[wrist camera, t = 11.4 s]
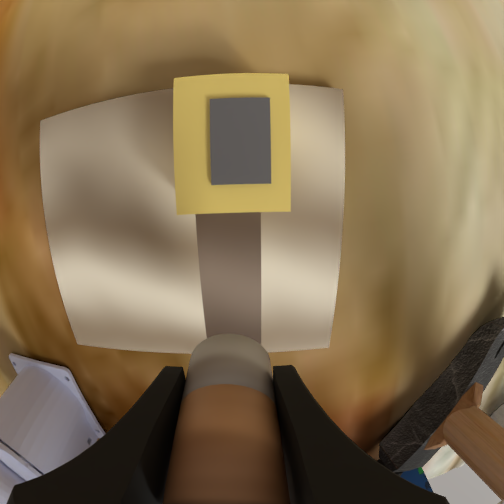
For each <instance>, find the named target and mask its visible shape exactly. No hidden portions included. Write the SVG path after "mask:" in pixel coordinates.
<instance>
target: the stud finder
mask: <svg viewBox="0 0 504 504" xmlns="http://www.w3.org/2000/svg"><path fill="white" fill-rule="evenodd" d="M173 148H174V177H175V196H176V211H177V215H187V214H210V213H241V212H291V135H290V95H289V74H275V73H231V74H212V75H199V76H189V77H180V78H174V87H173Z"/></svg>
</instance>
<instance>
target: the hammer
mask: <svg viewBox="0 0 504 504" xmlns="http://www.w3.org/2000/svg"><path fill="white" fill-rule="evenodd" d="M503 357H504V317H502V318H498V319H495V320H493V321H490V322H488V323H486V324H485V325H483V326H482V327H480V328H479V329H478V330H477V331H476V332H475V333H474V334H473V335H472V336H471V337H470V339H469V340H468V342H467V343H466V344H465V346H464V347H463V348H462V350H461V351H460V352H459V354H458V355H457V356H456V358H455V359H454V360H453V361H452V363H451V364H450V365H449V366H448V367H447V369H446V370H445V371H444V372H443V373H442V374H441V376H440V377H439V378H438V379H437V380H436V381H435V382H434V383H433V385H432V386H431V387H430V388H429V389H428V390H427V391H426V392H425V393H424V394H423V395H422V396H421V397H420V398H419V399H418V400H417V401H416V402H415V404H414V405H413V406H412V407H411V409H410V410H409V411H408V412H407V413H406V415H405V416H404V417H403V418H402V419H401V420H400V421H399V423H398V424H397V425H396V426H395V427H394V428H393V429H392V430H391V431H390V433H389V434H388V435H387V436H386V437H385V438H384V439H383V440H382V441H381V442H380V443H379V446H380V448H379V458H380V459H379V460H378V461H377V462H379V463H380V464H382V465H383V466H385V467H386V468H388V469H389V470H391V471H392V472H394V473H395V474H397V475H398V476H401V475H402V473H403V472H405V471H409V470H413V469H416V468H419V467H423V466H424V465H425V464H426V463H427V462H428V461H429V460H430V459H431V457H432V456H433V455H434V454H435V453H436V452H437V451H438V450H439V449H440V448H441V447H442V446H445V445H447V444H448V445H449V446H450V447H451V448H452V449H453V450H454V451H455V452H456V453H457V454H458V455H459V456H460V457H461V458H462V460H463V461H464V462H465V463H466V464H467V465H468V466H469V467H470V468H471V469H472V470H473V471H474V472H475V473H476V474H477V475H478V476H479V477H480V478H481V479H482V480H483V481H484V482H485V483H486V484H487V485H488V486H489V487H490V489H492V490H493V492H494V493H495V494H496V495H497V496H498V497H499V498H500V499H501V500H503V499H504V428H503V427H501V426H500V425H499V424H498V423H497V422H495V421H494V420H493V419H492V418H490V417H489V416H488V415H487V414H485V413H484V412H483V411H482V410H480V409H479V406H480V405H481V399H482V393H483V391H484V390H485V388H486V387H487V385H488V383H489V382H490V380H491V378H492V377H493V375H494V373H495V372H496V370H497V368H498V366H499V365H500V363H501V361H502V359H503Z"/></svg>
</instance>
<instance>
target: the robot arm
mask: <svg viewBox="0 0 504 504" xmlns="http://www.w3.org/2000/svg"><path fill="white" fill-rule="evenodd" d="M9 359H10V361H11V363H12V365H13V367H14V368H15V370H16V372H17V374H18V375H17V376H16V378H15V379H14V380H13V381H12V383H11V384H10V385H9V387H8V388H7V389H6V391H5V392H4V393H3V395H2V396H1V397H0V504H163V497H164V491H165V485H166V479H167V473H168V468H169V462H170V457H171V451H172V446H173V440H174V435H175V430H176V425H177V420H178V415H179V410H180V405H181V400H182V396H183V391H184V386H185V382H186V380H185V375H184V371H183V367H170V366H165V367H164V368H163V369H162V371H161V372H160V373H159V375H158V376H157V377H156V379H155V380H154V381H153V382H152V384H151V385H150V386H149V387H148V389H147V390H146V391H145V392H144V394H143V395H142V396H141V397H140V398H139V400H138V401H137V402H136V403H135V404H134V405H133V407H132V408H131V409H130V410H129V411H128V412H127V413H126V414H125V415H124V416H123V417H122V418H121V419H120V420H119V421H118V422H117V423H116V424H115V426H113V427H112V428H111V429H110V430H109V431H108V432H107V433H105V432H104V430H103V429H102V427H101V426H100V424H99V423H98V421H97V419H96V418H95V416H94V414H93V413H92V411H91V409H90V407H89V406H88V404H87V402H86V400H85V399H84V397H83V395H82V393H81V391H80V389H79V387H78V385H77V383H76V381H75V379H74V377H73V375H72V373H71V371H70V370H69V369H68V368H66V367H63V366H58V365H54V364H50V363H46V362H42V361H38V360H34V359H30V358H27V357H23V356H20V355H16V354H13V353H10V355H9ZM273 385H274V392H275V399H276V405H277V412H278V419H279V426H280V433H281V440H282V447H283V455H284V462H285V469H286V476H287V483H288V490H289V497H290V504H449V502H448V501H447V499H446V497H444V496H441V495H438V494H436V493H433V492H430V491H428V490H426V489H424V488H421V487H419V486H417V485H415V484H413V483H411V482H409V481H407V480H406V479H404V478H402V477H400V476H398V475H397V474H395V473H394V472H392V471H391V470H389V469H388V468H386V467H385V466H383V465H382V464H380V463H379V462H377V461H376V460H374V459H373V458H372V457H371V456H369V455H368V454H367V453H366V452H364V451H363V450H362V449H361V448H360V447H358V446H357V445H356V444H355V443H354V442H353V441H352V440H351V439H350V438H349V437H347V436H346V435H345V434H344V433H343V432H342V431H341V429H340V428H339V427H338V426H337V425H336V424H335V423H334V422H333V421H332V420H331V419H330V417H329V416H328V415H327V414H326V413H325V411H324V410H323V409H322V408H321V406H320V405H319V404H318V402H317V401H316V400H315V399H314V397H313V396H312V394H311V393H310V392H309V390H308V389H307V387H306V386H305V384H304V383H303V381H302V380H301V378H300V376H299V375H298V373H297V371H296V369H295V367H293V366H292V365H285V366H273ZM98 438H100V439H99V440H98V441H97V439H98ZM498 504H504V499H503V500H502V501H501V502H499V503H498Z"/></svg>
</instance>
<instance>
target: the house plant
mask: <svg viewBox="0 0 504 504" xmlns="http://www.w3.org/2000/svg"><path fill="white" fill-rule="evenodd" d="M490 418H492V419H493V420H494V421H495V422H497V423H498V424H499V425H500V426H501V427H503V428H504V403H503V404H502V405H501V406H500V407H499V408H498V409H497V410H496V411H495V412H494V413H493V414H492V415H491V416H490Z"/></svg>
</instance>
